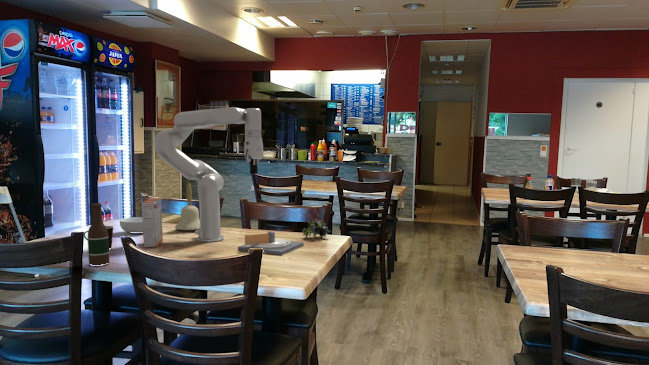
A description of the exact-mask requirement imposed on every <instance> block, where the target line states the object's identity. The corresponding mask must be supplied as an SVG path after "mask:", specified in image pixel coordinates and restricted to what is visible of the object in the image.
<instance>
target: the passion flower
mask: <svg viewBox="0 0 649 365" xmlns="http://www.w3.org/2000/svg"><path fill="white" fill-rule="evenodd" d="M307 223H308V227H307V229H306V228H303V229H302V231H301V233H302V235H303V237H304V236H305V238H307V237H311V236H312V240H314V239H315V237H316V236H317V235H318V234H319V237H320V238H323V237H326V232H327V233H328V234H330V233H332V232H331V230H330V229H329V227H328V226H327V224H326V223H325V221H324V220H321V219H314V220H313V221H309V220H308V222H307ZM312 234H313V235H312Z"/></svg>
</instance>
